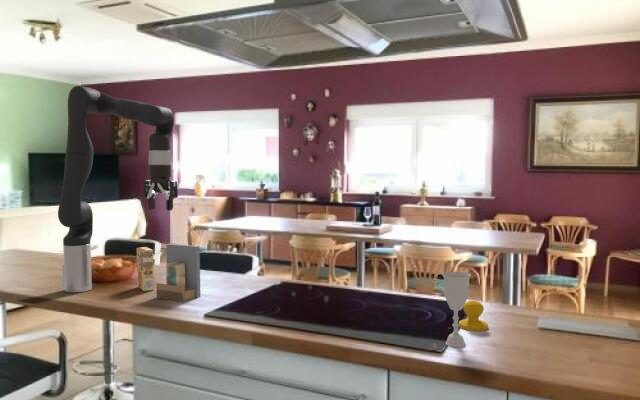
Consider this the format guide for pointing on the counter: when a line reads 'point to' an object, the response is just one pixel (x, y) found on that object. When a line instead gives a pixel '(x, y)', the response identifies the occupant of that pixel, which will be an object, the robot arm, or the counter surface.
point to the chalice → (456, 301)
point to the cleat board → (192, 273)
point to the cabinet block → (175, 274)
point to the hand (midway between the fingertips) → (160, 209)
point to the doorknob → (473, 317)
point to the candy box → (145, 268)
